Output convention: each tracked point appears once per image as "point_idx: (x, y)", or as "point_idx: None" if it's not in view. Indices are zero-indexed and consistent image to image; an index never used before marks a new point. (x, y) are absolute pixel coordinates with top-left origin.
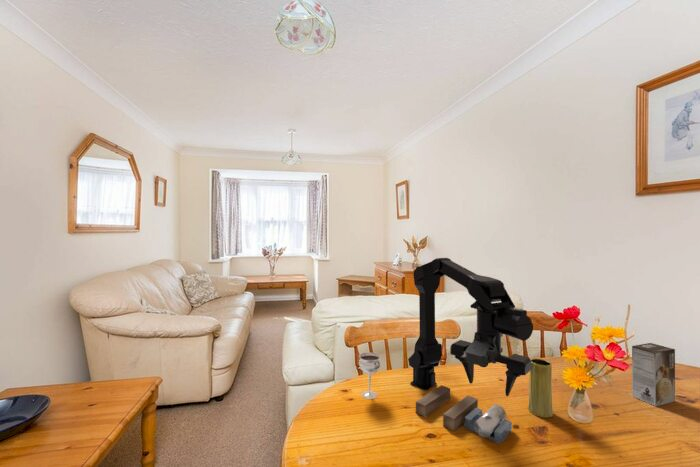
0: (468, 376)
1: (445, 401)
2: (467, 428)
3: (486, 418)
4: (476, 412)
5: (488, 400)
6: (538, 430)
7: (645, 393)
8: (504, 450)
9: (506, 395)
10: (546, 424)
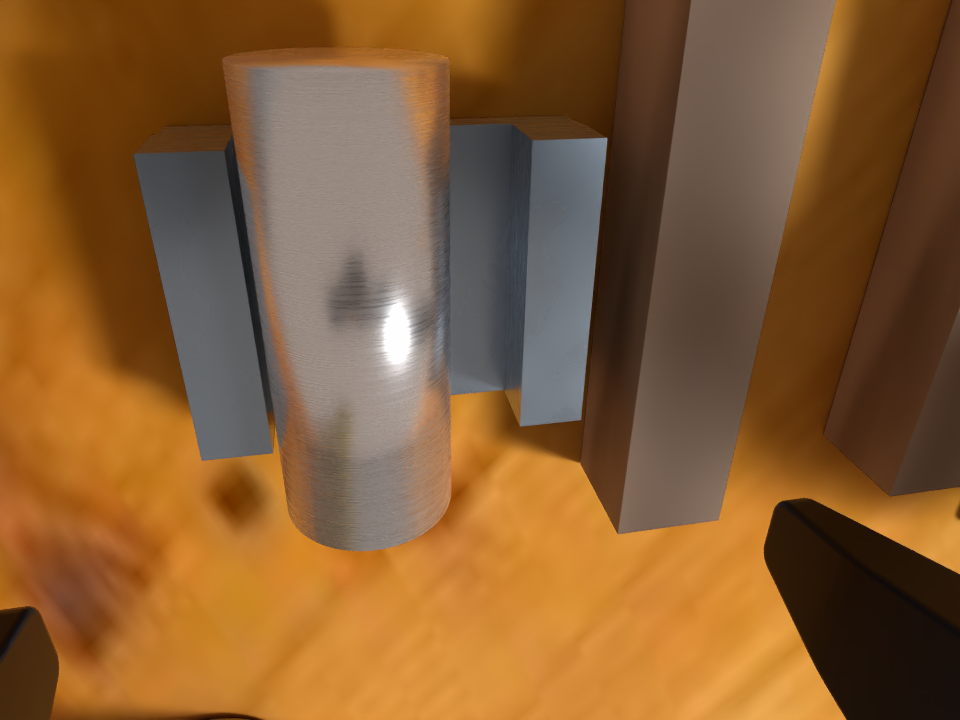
0: (931, 580)
1: (851, 363)
2: (537, 117)
3: (329, 175)
4: (543, 339)
5: (565, 631)
6: (84, 581)
7: None
8: (73, 48)
9: (8, 616)
10: (96, 685)
